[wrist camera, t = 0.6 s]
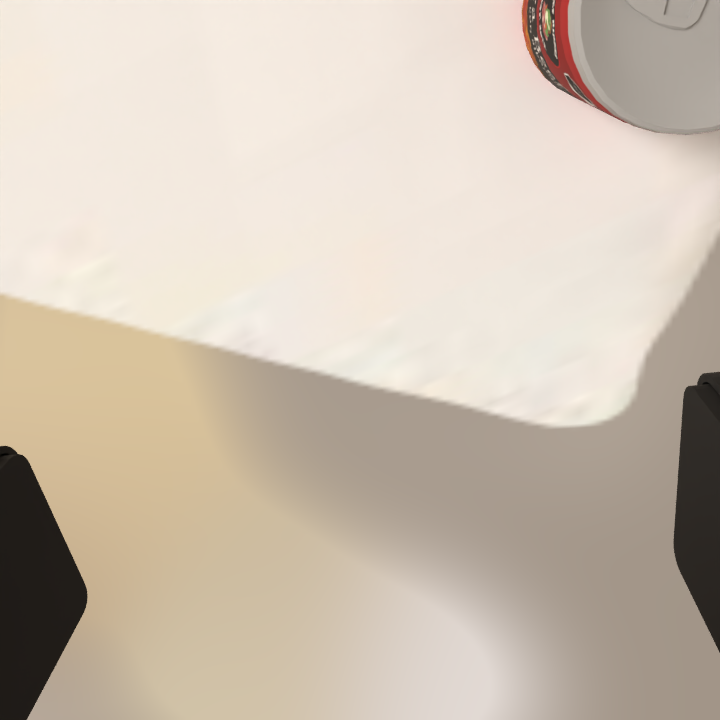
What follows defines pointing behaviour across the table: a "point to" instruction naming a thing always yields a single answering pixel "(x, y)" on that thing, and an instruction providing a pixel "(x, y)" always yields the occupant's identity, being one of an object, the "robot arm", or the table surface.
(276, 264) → the table surface
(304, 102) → the table surface
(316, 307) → the table surface
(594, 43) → the canned food
